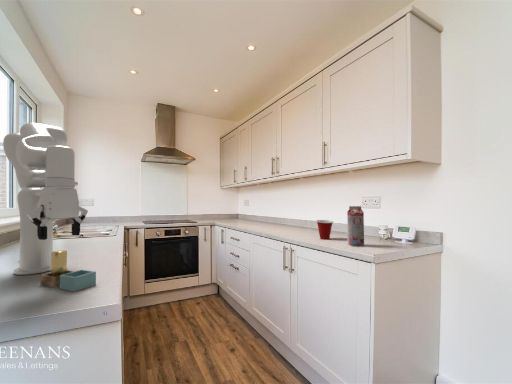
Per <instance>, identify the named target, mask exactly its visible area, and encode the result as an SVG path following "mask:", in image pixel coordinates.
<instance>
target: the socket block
mask: <svg viewBox="0 0 512 384" xmlns="http://www.w3.org/2000/svg"><path fill="white" fill-rule="evenodd" d="M74 271H75V270H68V269H67V273H71V272H74ZM40 285H41V286H46V287H50V288H57V287H60V276H56V277H53V276H51V272H48V273H44V274H41V275H40Z"/></svg>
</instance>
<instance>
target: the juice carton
mask: <svg viewBox="0 0 512 384" xmlns="http://www.w3.org/2000/svg"><path fill="white" fill-rule="evenodd" d="M346 215H347V245H349V246H350V247H365V219H364V218H365V216H364V211H363V209H362V205H357V206H356V205H354V206H353V205H349V206H348V210H347V214H346Z"/></svg>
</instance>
